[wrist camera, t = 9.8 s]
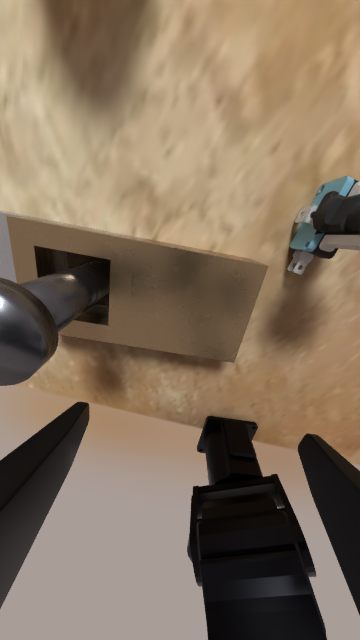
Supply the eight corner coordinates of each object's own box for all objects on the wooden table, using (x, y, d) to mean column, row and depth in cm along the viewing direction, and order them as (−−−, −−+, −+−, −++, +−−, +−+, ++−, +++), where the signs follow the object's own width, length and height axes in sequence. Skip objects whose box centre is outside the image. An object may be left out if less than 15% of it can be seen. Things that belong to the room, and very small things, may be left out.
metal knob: (121, 305, 19) (45, 392, 8) (74, 297, 18) (-63, 377, 8) (124, 258, 17) (33, 295, 7) (72, 248, 17) (-106, 271, 6)
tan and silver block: (224, 339, 20) (234, 362, 16) (-43, 294, 18) (-99, 309, 15) (249, 259, 17) (268, 266, 13) (-72, 196, 15) (-152, 184, 12)
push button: (313, 279, 17) (457, 329, 8) (259, 259, 17) (351, 290, 8) (364, 196, 15) (654, 137, 6) (302, 170, 14) (519, 55, 5)
